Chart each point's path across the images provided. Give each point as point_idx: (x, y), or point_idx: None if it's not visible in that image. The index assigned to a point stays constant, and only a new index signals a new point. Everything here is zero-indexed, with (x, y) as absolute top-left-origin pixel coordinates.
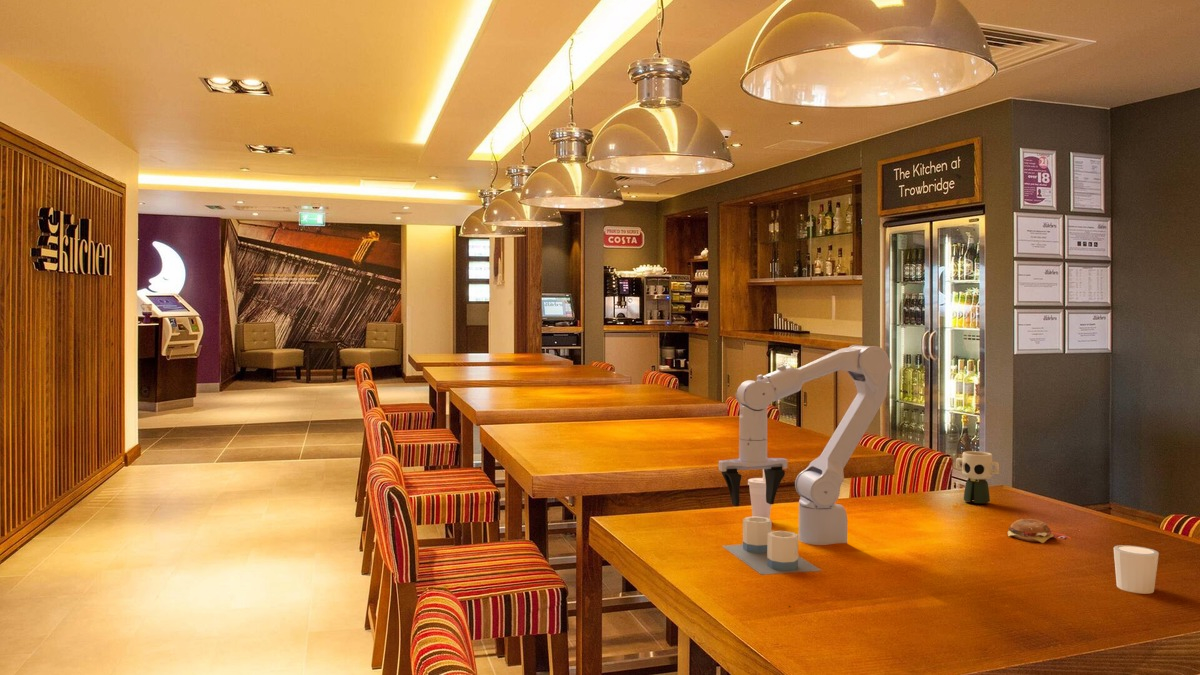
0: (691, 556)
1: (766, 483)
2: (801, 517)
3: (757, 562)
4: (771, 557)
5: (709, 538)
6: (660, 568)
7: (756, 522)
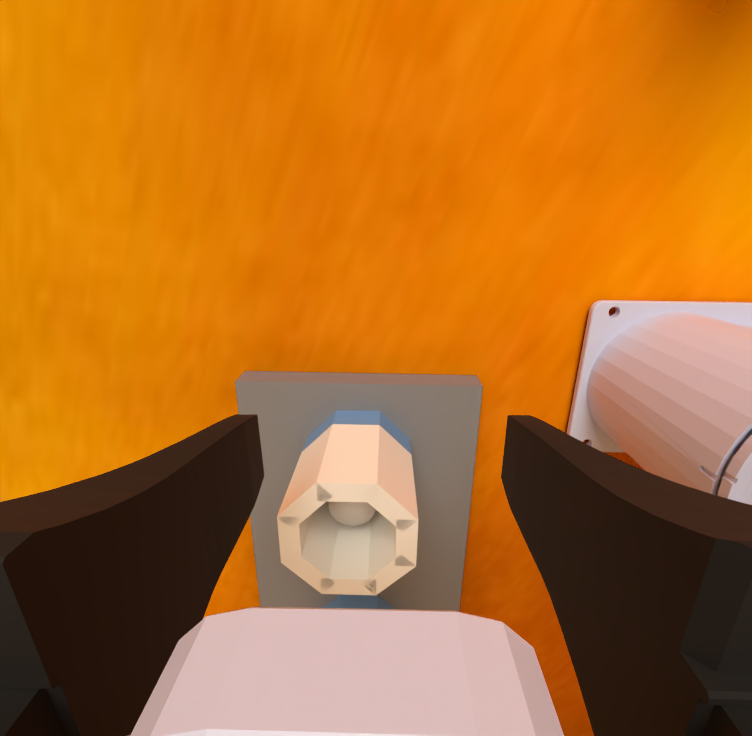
0: (122, 385)
1: (582, 485)
2: (664, 446)
3: (298, 582)
4: None
5: (257, 115)
6: (3, 485)
7: (319, 587)
